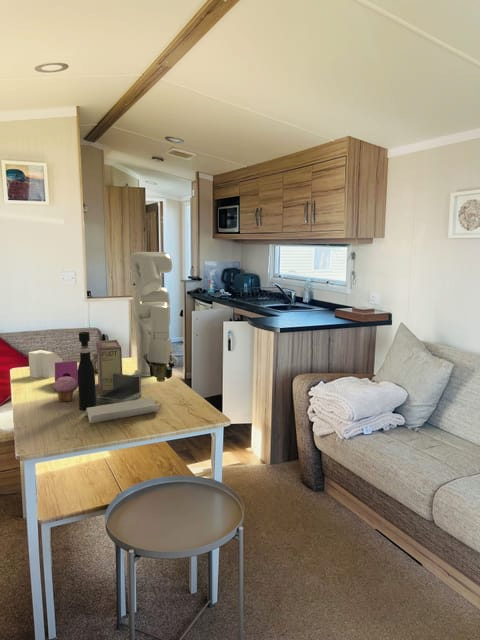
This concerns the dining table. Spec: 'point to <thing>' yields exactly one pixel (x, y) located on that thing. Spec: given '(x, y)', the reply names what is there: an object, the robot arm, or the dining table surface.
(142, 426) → the dining table surface
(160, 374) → the cup
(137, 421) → the dining table surface
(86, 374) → the wine bottle
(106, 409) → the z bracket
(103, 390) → the box
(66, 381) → the cupcake
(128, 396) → the tray
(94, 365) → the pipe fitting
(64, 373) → the mounting bracket
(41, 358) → the corner bracket
